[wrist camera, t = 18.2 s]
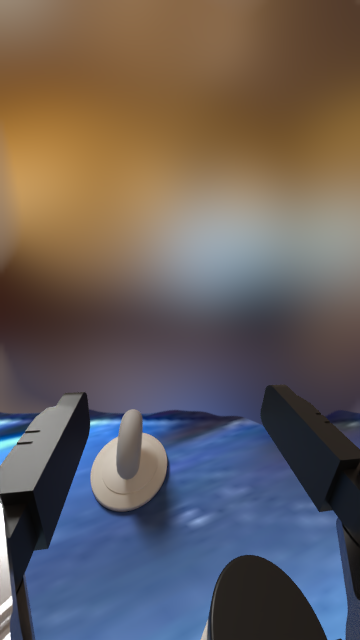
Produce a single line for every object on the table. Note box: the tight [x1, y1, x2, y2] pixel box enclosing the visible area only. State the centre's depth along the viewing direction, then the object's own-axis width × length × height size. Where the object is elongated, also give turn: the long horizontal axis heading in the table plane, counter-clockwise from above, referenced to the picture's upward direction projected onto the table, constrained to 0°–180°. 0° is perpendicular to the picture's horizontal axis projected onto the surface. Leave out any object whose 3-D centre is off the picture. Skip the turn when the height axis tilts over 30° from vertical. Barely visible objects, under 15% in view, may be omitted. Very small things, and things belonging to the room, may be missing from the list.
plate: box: [91, 433, 167, 512], centre depth 35 cm, size 13×13×1 cm
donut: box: [116, 410, 142, 480], centre depth 33 cm, size 10×3×10 cm, turn 5°
